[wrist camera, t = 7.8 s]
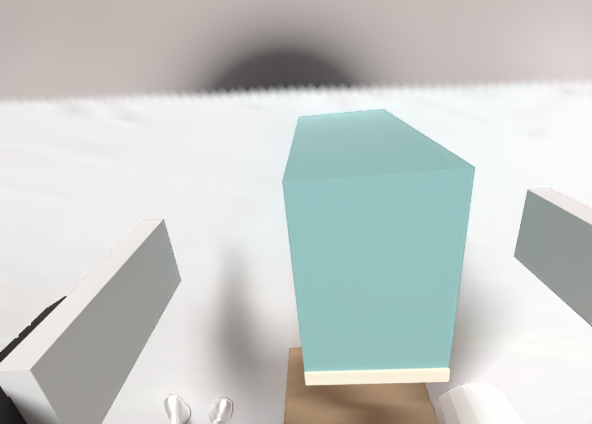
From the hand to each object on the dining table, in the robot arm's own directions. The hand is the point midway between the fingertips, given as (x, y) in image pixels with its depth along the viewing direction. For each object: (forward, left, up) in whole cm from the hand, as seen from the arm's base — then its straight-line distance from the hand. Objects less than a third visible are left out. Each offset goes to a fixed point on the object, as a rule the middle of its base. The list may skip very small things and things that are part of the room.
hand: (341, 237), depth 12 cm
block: (+1, 0, -8) cm, 8 cm away
